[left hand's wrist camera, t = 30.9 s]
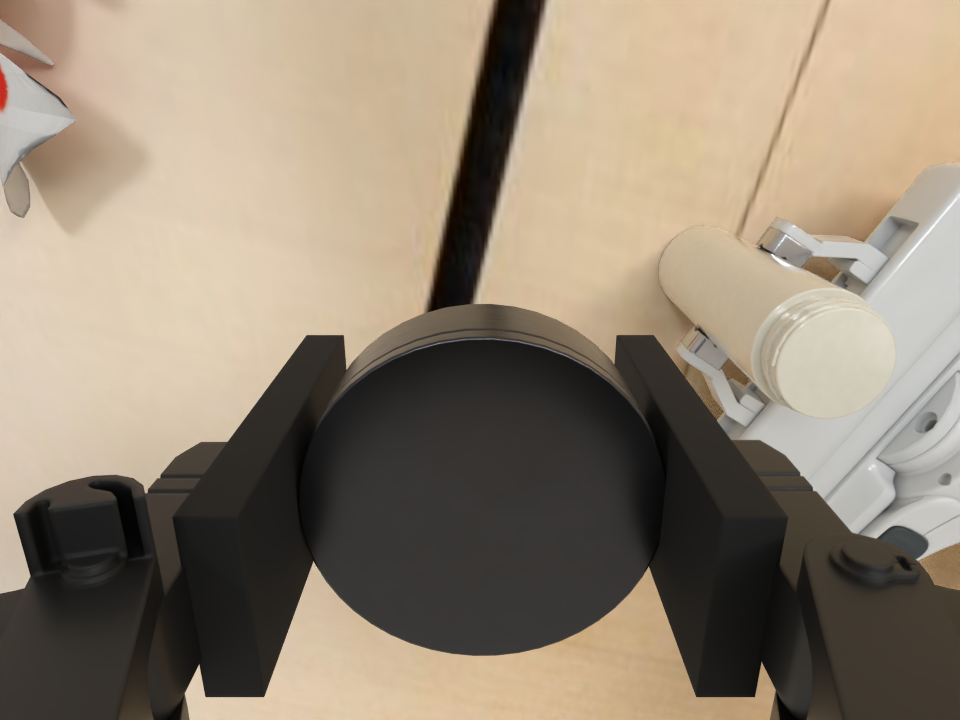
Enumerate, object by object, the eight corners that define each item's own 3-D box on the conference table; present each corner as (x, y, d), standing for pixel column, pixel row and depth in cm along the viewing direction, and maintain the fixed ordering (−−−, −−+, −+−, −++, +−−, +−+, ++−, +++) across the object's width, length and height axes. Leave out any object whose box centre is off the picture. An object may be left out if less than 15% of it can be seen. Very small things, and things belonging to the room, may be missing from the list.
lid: (370, 611, 13) (355, 681, 12) (278, 341, 11) (246, 381, 10) (661, 559, 13) (687, 625, 11) (618, 270, 11) (642, 299, 9)
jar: (753, 230, 37) (926, 305, 23) (733, 313, 38) (883, 433, 24) (667, 221, 37) (786, 291, 22) (651, 305, 38) (752, 421, 24)
